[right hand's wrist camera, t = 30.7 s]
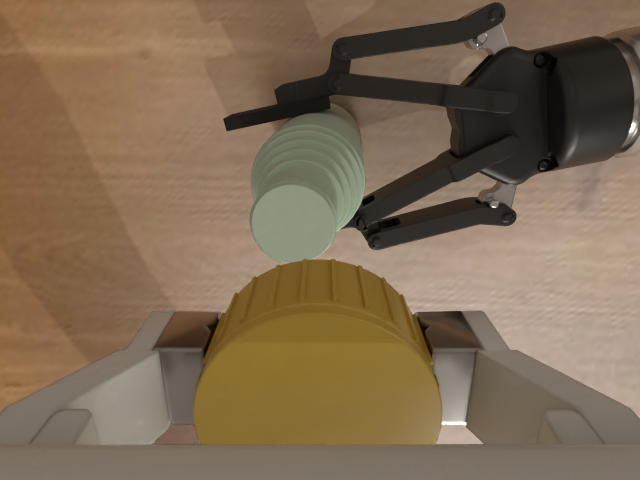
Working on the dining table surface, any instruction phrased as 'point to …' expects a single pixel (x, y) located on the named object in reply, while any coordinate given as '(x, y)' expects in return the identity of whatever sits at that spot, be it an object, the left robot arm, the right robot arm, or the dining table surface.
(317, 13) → the dining table surface
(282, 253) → the bottle
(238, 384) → the cap
